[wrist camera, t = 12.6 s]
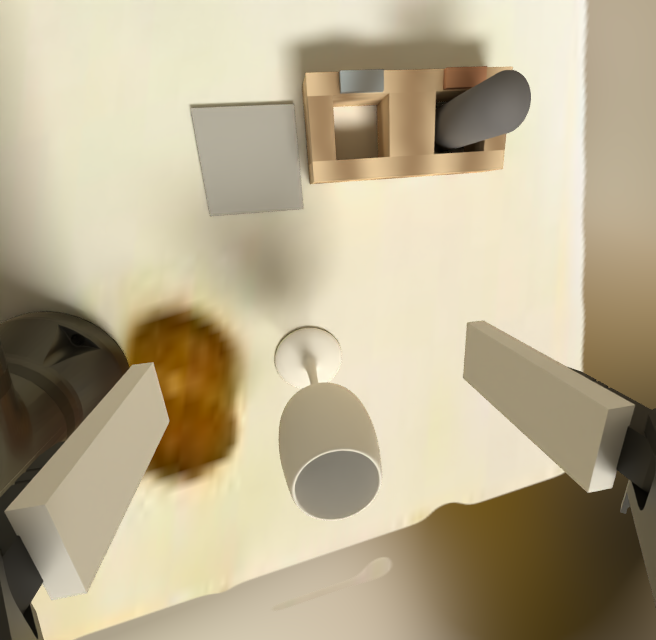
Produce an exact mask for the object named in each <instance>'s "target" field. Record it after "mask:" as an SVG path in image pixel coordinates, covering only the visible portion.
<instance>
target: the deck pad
mask: <svg viewBox="0 0 656 640" xmlns="http://www.w3.org/2000/svg"><path fill="white" fill-rule="evenodd" d="M191 113H192V119H193V124H194V130H195V135H196V141H197V146H198V152H199V157H200V163H201V168H202V174H203V179H204V185H205V190H206V196H207V201H208V207H209V212H210V216H219V215H231V214H244V213H257V212H270V211H283V210H296V209H303V198H302V187H301V176H300V165H299V154H298V143H297V132H296V121H295V110H294V104H280V105H255V106H230V107H205V108H191Z"/></svg>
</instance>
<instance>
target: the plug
mask: <svg viewBox="0 0 656 640" xmlns="http://www.w3.org/2000/svg"><path fill="white" fill-rule="evenodd" d="M530 102H531V92H530V87H529V84H528V82H527V80H526V79H525V77H524V76H523V75H522V74H520V73H519V72H517V71H514V70H504V71H501V72H498V73H497V74H495V75H493V76H491V77H490V78H488V79H486V80H484V81H483V82H481V83H479V84H478V85H476V86H474V87H472V88H471V89H469V90H467V91H466V92H464V93H462V94H460V95H459V96H457V97H455V98H453V99H452V100H450V101H448V102H447V103H445V104H443V105H441V106H440V107H438V108H436V109H435V137H434V152H435V153H442V152H446V151H449V150H453V149H456V148H459V147H463V146H466V145H469V144H473V143H476V142H479V141H483V140H486V139H489V138H493V137H496V136H499V135H503V134H506V133H509V132H512V131H513V130H515V129H516V128H517V127H518V126H519V125H520V124H521V123H522V122H523V121H524V119H525V117H526V115H527V113H528V111H529V107H530Z"/></svg>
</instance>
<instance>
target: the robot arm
mask: <svg viewBox="0 0 656 640" xmlns="http://www.w3.org/2000/svg"><path fill="white" fill-rule="evenodd" d="M463 378H464V379H465V380H466V381H467V382H468V383H469V384H470V385H471V386H472V387H473V388H474V389H476V390H477V391H478V392H479V393H480V394H481V395H482V396H483V397H484V398H485V399H486V400H488V401H489V402H490V403H491V404H492V405H493V406H494V407H495V408H496V409H497V410H498V411H500V412H501V413H502V414H503V415H504V416H505V417H506V418H507V419H508V420H509V421H510V422H511V423H513V424H514V425H515V426H516V427H517V428H518V429H519V430H520V431H521V432H522V433H523V434H525V435H526V436H527V437H528V438H529V439H530V440H531V441H532V442H533V443H534V444H535V445H537V446H538V447H539V448H540V449H541V450H542V451H543V452H544V453H545V454H546V455H547V456H549V457H550V458H551V459H552V460H553V461H554V462H555V463H556V464H557V465H558V466H559V467H560V468H562V469H563V470H564V471H565V472H566V473H567V474H568V475H569V476H570V477H571V478H572V479H574V480H575V481H576V482H577V483H578V484H579V485H580V486H581V487H582V488H583V489H585V490H586V491H587V492H588V493H589V492H594V491H599V490H604V489H609V488H612V486H613V483H614V479H615V476H616V472H617V470H618V471H619V472H620V473H622V474H623V475H624V476H626V477H627V478H628V479H629V482H628V485H627V489H626V492H625V495H624V499H623V502H622V505H621V511H620V512H622V513H626V511H627V508H628V507H631V510H632V514H633V518H634V522H635V526H636V530H637V534H638V538H639V542H640V546H641V550H642V554H643V558H644V562H645V566H646V570H647V574H648V578H649V582H650V586H651V590H652V594H653V598H654V602H655V606H656V409H653V410H651V409H649V408H647V407H645V406H644V405H642V404H640V403H638V402H636V401H634V400H633V399H631V398H629V397H627V396H625V395H623V394H622V393H620V392H618V391H616V390H614V389H612V388H608V386H607V385H605V384H603V383H601V382H600V381H598V382H597V381H596V379H594V378H592V377H590V376H588V375H587V374H585V373H583V372H581V371H578V370H575V369H572V368H569V367H566V366H564V365H562V364H561V363H559V362H557V361H555V360H553V359H552V358H550V357H548V356H546V355H544V354H543V353H541V352H539V351H537V350H535V349H534V348H532V347H530V346H528V345H526V344H525V343H523V342H521V341H519V340H517V339H516V338H514V337H512V336H510V335H508V334H507V333H505V332H503V331H501V330H499V329H498V328H496V327H494V326H492V325H491V324H489V323H487V322H485V321H476V322H468V323H467V331H466V345H465V358H464V372H463ZM168 423H169V418H168V414H167V411H166V407H165V403H164V400H163V396H162V393H161V389H160V385H159V382H158V378H157V374H156V371H155V367H154V364H153V362H152V363H144V364H136V365H132V366H131V367H130V368H129V366H128V363H127V360H126V358H125V356H124V354H123V352H122V351H121V349H120V348H119V346H118V345H117V344H116V343H115V341H114V340H113V339H112V338H111V337H110V336H109V335H107V334H106V333H105V332H104V331H103V330H101V329H100V328H98V327H97V326H95V325H93V324H92V323H90V322H88V321H86V320H83V319H81V318H78V317H75V316H72V315H68V314H64V313H58V312H33V313H27V314H23V315H19V316H17V317H14V318H12V319H10V320H7V321H5V322H3V323H1V324H0V640H44V639H43V635H42V632H41V628H40V624H39V621H38V617H37V613H36V611H35V609H34V607H33V605H32V604H31V601H32V599H33V598H34V596H35V594H36V593H37V591H38V590H39V588H40V586H41V585H42V583H43V585H44V587H45V589H46V591H47V593H48V595H49V597H50V599H51V600H56V599H61V598H66V597H71V596H76V595H81V594H86V593H87V592H88V590H89V588H90V586H91V584H92V582H93V580H94V578H95V575H96V573H97V571H98V569H99V567H100V565H101V563H102V561H103V559H104V557H105V555H106V553H107V550H108V548H109V546H110V544H111V542H112V540H113V538H114V536H115V534H116V532H117V530H118V528H119V525H120V523H121V521H122V519H123V517H124V515H125V513H126V511H127V509H128V507H129V505H130V502H131V500H132V498H133V496H134V494H135V492H136V490H137V488H138V486H139V484H140V482H141V480H142V477H143V475H144V473H145V471H146V469H147V467H148V465H149V463H150V461H151V459H152V457H153V455H154V452H155V450H156V448H157V446H158V444H159V442H160V440H161V438H162V436H163V434H164V432H165V430H166V427H167V425H168Z"/></svg>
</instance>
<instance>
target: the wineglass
mask: <svg viewBox="0 0 656 640" xmlns="http://www.w3.org/2000/svg"><path fill="white" fill-rule="evenodd" d="M341 362H342V351H341V347H340V345H339V343H338V341H337V340H336V339H335V338H334V337H333V336H332V335H331V334H330V333H328V332H326V331H324V330H322V329H318V328H303V329H299V330H296V331H294V332H292V333H290V334H289V335H287V336H286V337H285V338H284V339H283V340H282V341H281V343H280V344H279V346H278V348H277V351H276V354H275V366H276V369H277V372H278V374H279V375H280V377H281V378H282V379H283V380H284V381H285V382H286V383H288V384H289V385H291V386H294V387H296V388H301V390H300V391H298V392H297V393H296V394H295V395H293V397H292V398H291V399H290V400H289V402H288V403H287V404H286V406H285V408H284V410H283V413H282V416H281V420H280V426H279V452H280V459H281V464H282V468H283V472H284V476H285V479H286V482H287V485H288V488H289V491H290V493H291V496H292V498H293V501H294V502H295V504H296V505H297V507H298V508H299V509H300V510H301V511H302V512H303V513H305V514H306V515H308V516H310V517H313V518H316V519H320V520H340V519H345V518H348V517H351V516H353V515H355V514H357V513H359V512H361V511H362V510H364V509H365V508H366V507H367V506H369V505H370V504H371V502H372V501H373V500H374V499H375V497H376V496H377V494H378V492H379V490H380V487H381V483H382V467H381V458H380V451H379V446H378V441H377V437H376V433H375V430H374V427H373V424H372V421H371V419H370V417H369V415H368V413H367V411H366V409H365V407H364V406H363V404H362V403H361V401H360V400H359V399H358V398H357V396H356V395H355V394H353V393H352V392H351V391H350V390H348V389H347V388H345V387H343V386H341V385H338V384H334V383H328V382H329V381H330V380H332V379H333V378H334V376H335V375H336V374H337V372H338V371H339V369H340V366H341Z"/></svg>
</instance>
